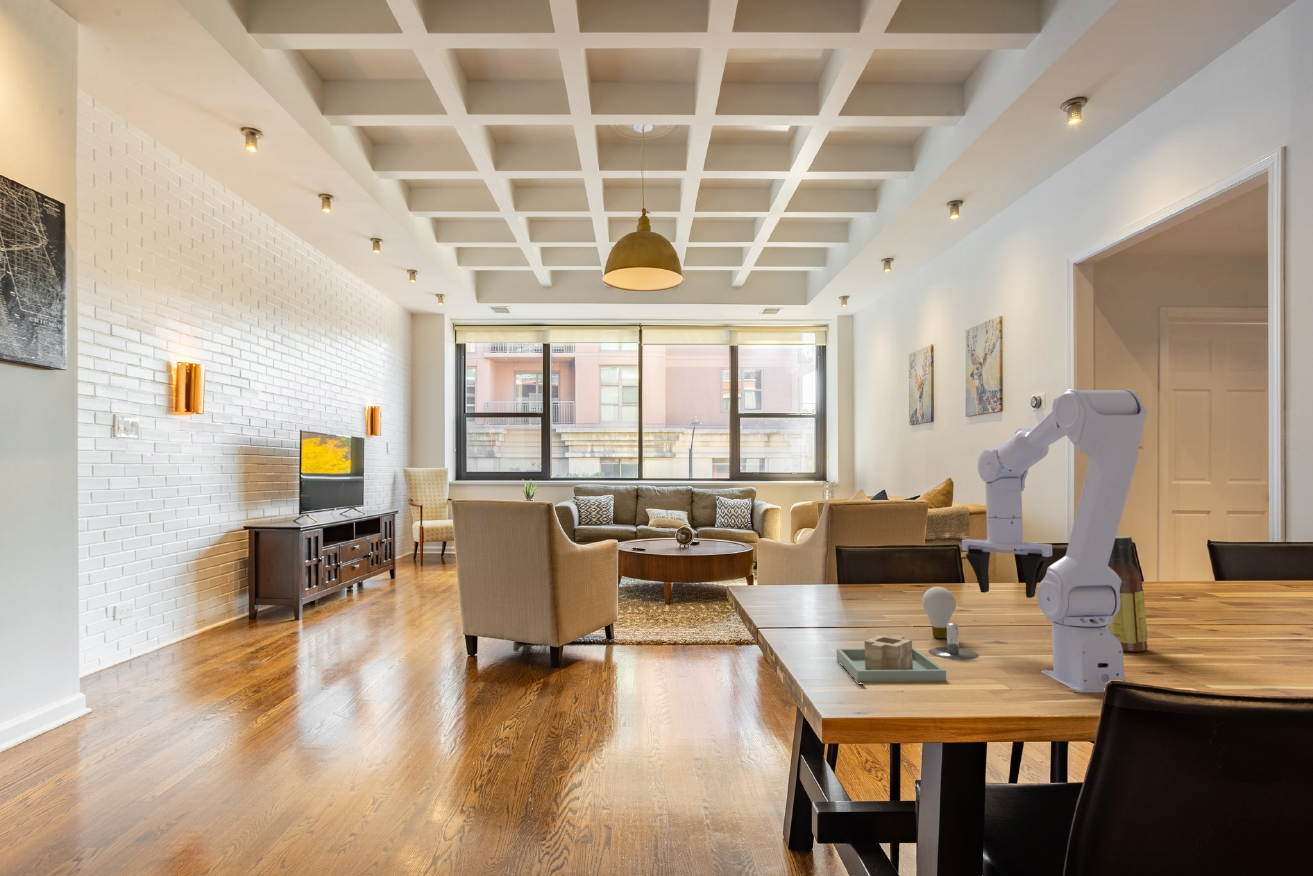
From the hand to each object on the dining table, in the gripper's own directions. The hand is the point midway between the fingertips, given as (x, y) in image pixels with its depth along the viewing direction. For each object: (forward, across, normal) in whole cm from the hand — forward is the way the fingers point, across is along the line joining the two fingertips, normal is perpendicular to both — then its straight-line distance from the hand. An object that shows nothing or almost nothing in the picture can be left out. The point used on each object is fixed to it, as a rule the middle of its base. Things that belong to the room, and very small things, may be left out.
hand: (1007, 594), depth 122 cm
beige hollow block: (+9, +9, +26) cm, 29 cm away
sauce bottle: (+10, -14, -16) cm, 23 cm away
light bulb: (+10, +12, +1) cm, 16 cm away
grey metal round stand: (+10, +6, +10) cm, 15 cm away
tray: (+10, +9, +26) cm, 29 cm away
